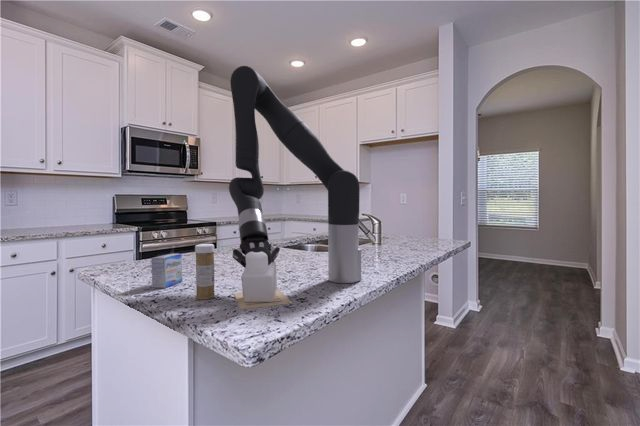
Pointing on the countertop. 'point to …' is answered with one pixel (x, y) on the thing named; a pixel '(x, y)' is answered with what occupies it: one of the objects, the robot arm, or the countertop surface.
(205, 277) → the sprinkles bottle
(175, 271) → the medicine box
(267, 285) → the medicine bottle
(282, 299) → the letter
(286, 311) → the countertop surface
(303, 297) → the countertop surface
